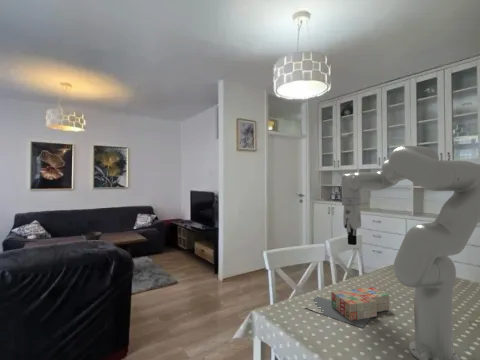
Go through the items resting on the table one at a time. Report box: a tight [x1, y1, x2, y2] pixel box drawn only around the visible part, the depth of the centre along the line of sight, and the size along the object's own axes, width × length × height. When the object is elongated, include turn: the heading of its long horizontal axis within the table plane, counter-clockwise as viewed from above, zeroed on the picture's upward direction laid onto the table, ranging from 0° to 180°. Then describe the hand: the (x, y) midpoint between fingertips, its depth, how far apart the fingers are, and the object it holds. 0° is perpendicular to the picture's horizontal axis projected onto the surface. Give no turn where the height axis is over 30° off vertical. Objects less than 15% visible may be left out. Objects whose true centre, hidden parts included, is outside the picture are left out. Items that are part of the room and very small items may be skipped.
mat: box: [312, 296, 372, 329], centre depth 109 cm, size 14×24×1 cm, turn 49°
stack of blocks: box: [330, 287, 390, 321], centre depth 109 cm, size 21×6×12 cm
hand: (352, 244), depth 114 cm, fingers closed
